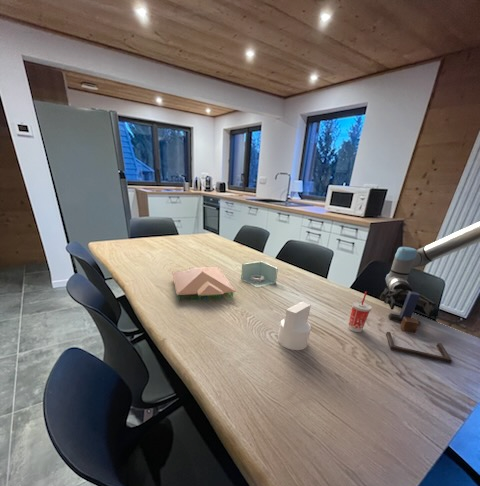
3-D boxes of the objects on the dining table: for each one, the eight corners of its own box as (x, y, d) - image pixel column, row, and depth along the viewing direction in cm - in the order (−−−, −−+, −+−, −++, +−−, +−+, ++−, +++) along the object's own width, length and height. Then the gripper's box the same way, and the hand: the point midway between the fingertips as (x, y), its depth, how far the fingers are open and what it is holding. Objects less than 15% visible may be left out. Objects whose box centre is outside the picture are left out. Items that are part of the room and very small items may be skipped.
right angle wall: (241, 278, 128) (242, 263, 125) (259, 275, 135) (261, 261, 132) (256, 287, 120) (258, 271, 117) (275, 283, 127) (278, 268, 123)
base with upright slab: (297, 353, 76) (304, 317, 70) (272, 340, 81) (277, 305, 76) (312, 342, 82) (320, 307, 77) (288, 330, 87) (294, 297, 82)
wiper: (417, 322, 100) (428, 294, 95) (419, 325, 97) (431, 297, 92) (388, 316, 102) (398, 289, 97) (389, 319, 100) (399, 291, 95)
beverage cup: (367, 330, 91) (379, 293, 85) (358, 335, 88) (370, 296, 82) (351, 322, 96) (362, 286, 90) (342, 326, 92) (352, 290, 86)
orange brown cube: (412, 328, 95) (416, 318, 93) (415, 333, 92) (419, 323, 90) (400, 325, 96) (403, 316, 94) (402, 331, 93) (406, 321, 91)
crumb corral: (439, 346, 85) (441, 343, 85) (450, 363, 77) (452, 360, 76) (386, 334, 90) (387, 331, 89) (390, 349, 81) (391, 346, 81)
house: (177, 305, 97) (177, 285, 94) (171, 275, 126) (171, 258, 122) (237, 302, 104) (238, 282, 101) (218, 273, 132) (219, 258, 129)
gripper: (428, 302, 111) (445, 326, 92) (367, 291, 117) (372, 312, 99) (435, 286, 108) (455, 307, 89) (372, 275, 114) (378, 293, 95)
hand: (411, 309), depth 94 cm, fingers open, 11 cm apart
